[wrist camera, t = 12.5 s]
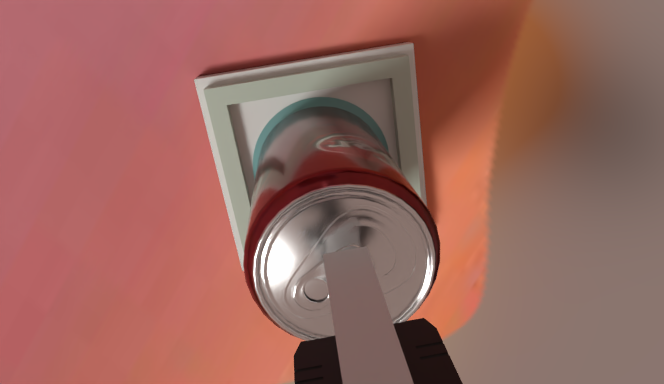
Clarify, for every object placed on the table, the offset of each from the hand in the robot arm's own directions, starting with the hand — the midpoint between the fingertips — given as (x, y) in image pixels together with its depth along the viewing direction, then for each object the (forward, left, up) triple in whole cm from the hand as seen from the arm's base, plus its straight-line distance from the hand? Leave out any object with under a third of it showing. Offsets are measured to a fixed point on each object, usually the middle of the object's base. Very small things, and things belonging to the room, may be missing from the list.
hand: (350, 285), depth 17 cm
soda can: (0, 0, -13) cm, 13 cm away
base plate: (0, 0, -14) cm, 14 cm away
